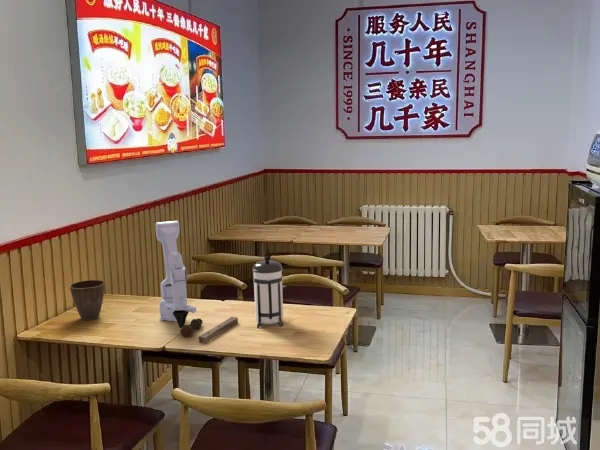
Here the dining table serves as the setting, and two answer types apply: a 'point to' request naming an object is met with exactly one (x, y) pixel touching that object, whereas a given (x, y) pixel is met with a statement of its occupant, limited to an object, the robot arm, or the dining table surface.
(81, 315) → the plant pot
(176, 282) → the robot arm
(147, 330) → the dining table surface
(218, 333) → the batten
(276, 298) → the coffee press
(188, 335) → the bolt
